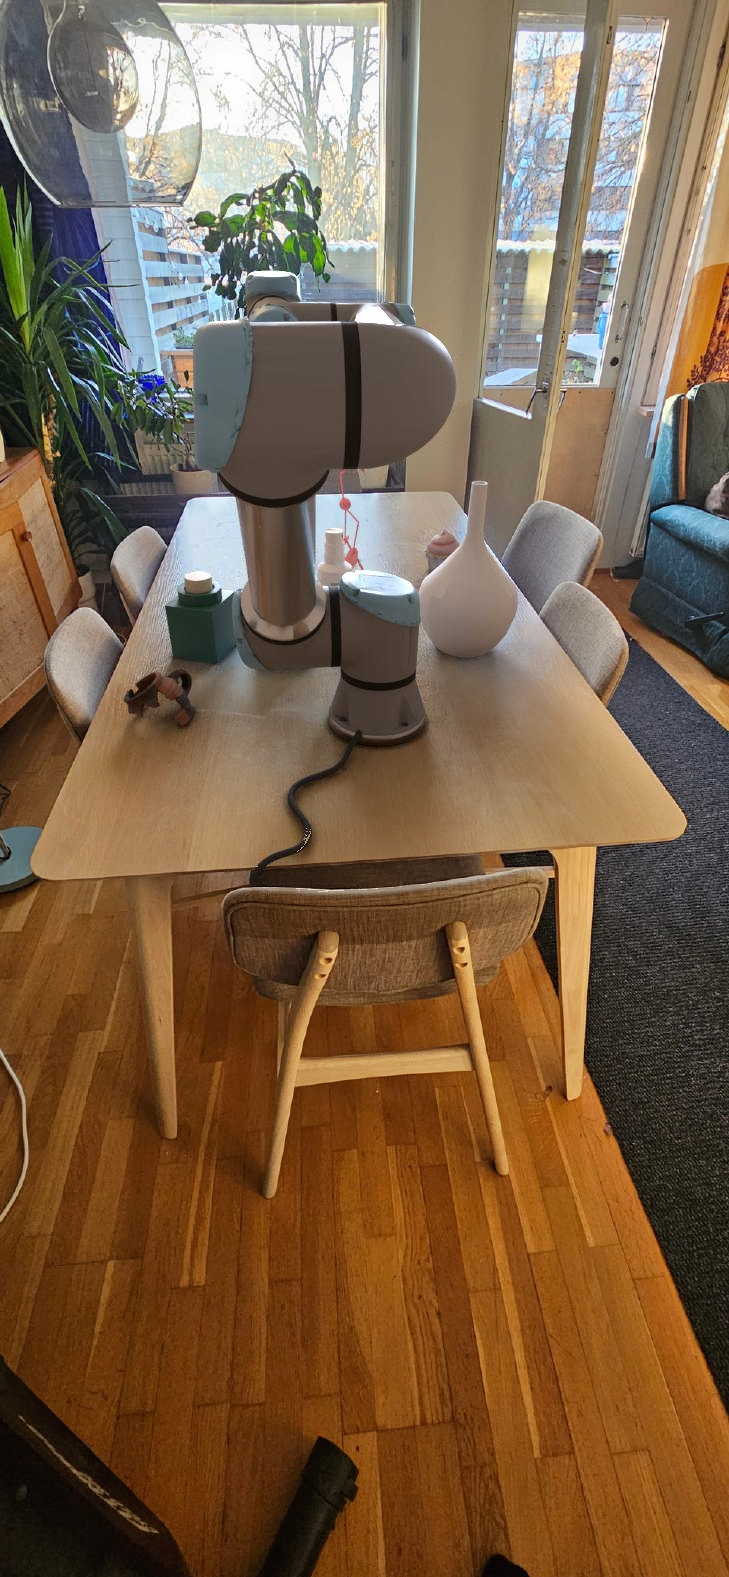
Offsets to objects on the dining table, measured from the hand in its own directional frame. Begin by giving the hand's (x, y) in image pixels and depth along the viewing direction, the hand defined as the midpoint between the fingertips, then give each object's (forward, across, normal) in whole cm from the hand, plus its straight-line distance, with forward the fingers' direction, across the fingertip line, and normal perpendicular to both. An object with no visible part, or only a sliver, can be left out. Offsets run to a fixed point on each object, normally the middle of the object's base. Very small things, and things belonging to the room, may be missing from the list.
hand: (285, 536), depth 122 cm
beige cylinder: (+10, +5, -15) cm, 19 cm away
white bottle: (+23, -15, +3) cm, 27 cm away
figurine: (+26, -43, -8) cm, 51 cm away
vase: (+22, -12, +30) cm, 40 cm away
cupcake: (+25, -50, +17) cm, 59 cm away
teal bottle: (+22, +6, -15) cm, 27 cm away
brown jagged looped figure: (+20, +29, -9) cm, 36 cm away
